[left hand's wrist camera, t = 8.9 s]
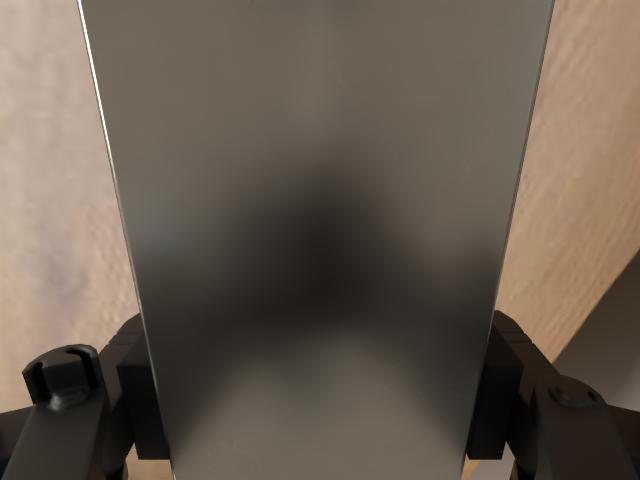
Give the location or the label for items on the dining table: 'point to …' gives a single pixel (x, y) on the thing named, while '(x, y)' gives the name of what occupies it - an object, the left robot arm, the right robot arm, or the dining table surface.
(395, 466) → the bar
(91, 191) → the dining table surface
